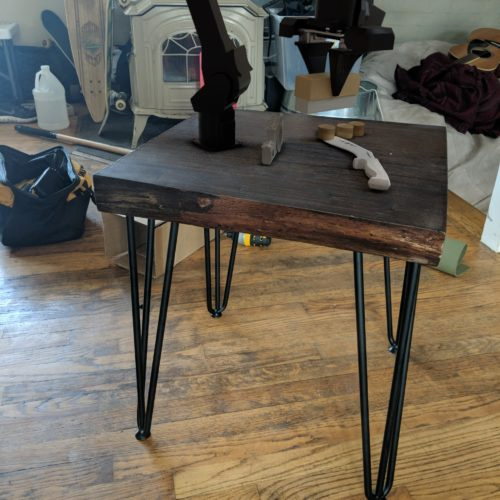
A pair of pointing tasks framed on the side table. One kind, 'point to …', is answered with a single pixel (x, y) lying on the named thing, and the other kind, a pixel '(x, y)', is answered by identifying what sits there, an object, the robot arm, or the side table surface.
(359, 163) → the knife
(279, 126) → the garden wall model
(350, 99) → the oblong tan box
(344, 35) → the robot arm
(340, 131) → the short tan cylinder
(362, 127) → the crumb
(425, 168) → the side table surface
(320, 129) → the tan squat cylinder
